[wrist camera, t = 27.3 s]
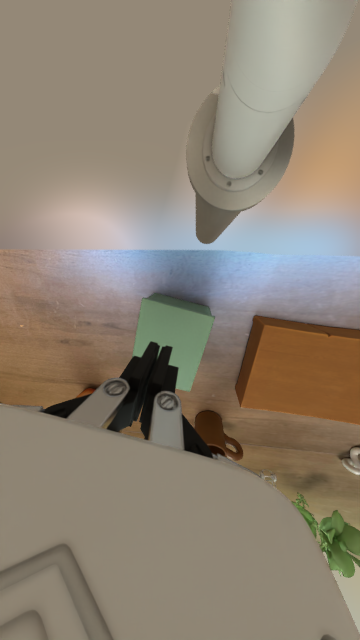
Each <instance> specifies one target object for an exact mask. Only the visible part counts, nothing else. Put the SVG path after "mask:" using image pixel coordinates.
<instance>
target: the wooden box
mask: <svg viewBox="0 0 360 640" xmlns="http://www.w3.org/2000/svg"><path fill="white" fill-rule="evenodd" d="M253 322H254V323H253V326H252V330H251V334H250V338H249V341H248V345H247V349H246V353H245V356H244V360H243V364H242V368H241V372H240V375H239V379H238V383H237V384H236V386H235V390H236V394H237V397H238V400H239V404H240V407H245V408H253V409H261V410H268V411H276V412H283V413H290V414H298V415H305V416H312V417H318V418H324V419H329V420H335V421H341V422H347V423H352V424H358V425H360V330H353V329H344V328H335V327H326V326H320V325H313V324H305V323H299V322H292V321H286V320H280V319H274V318H267V317H261V316H254V318H253Z"/></svg>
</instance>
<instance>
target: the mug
mask: <svg viewBox="0 0 360 640" xmlns="http://www.w3.org/2000/svg"><path fill="white" fill-rule="evenodd" d="M195 430H196V432H197V433H198V434H199V435H200V437H201V438H202V439H203V440H204V442H205V443H206V444H207V445H208V447H209V448H210V450H211V452H212V453H213V454H215V455H217V453H218V454H220V455H222V456H224V457H229V458H230V459H232V460H235V461H238V460H241V459H242V457H243V450H242V447H241V446H240V444H239V443H238V442H237V441H236V440H235V439H233V438H230V437H228V436H227V435H226V434H225V433H224V431H223V425H222V420H221V418H220V416H219V415H218V414H216V413H214V412H212V411H204V412H201V413H199V414H198V415H197V417H196V419H195ZM226 444H228V445H231V446H233V447H234V448H235V450H236V452H237V453H235V452H233V451H232V450H230V449H228V448H227V447H226Z"/></svg>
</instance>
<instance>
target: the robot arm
mask: <svg viewBox="0 0 360 640" xmlns="http://www.w3.org/2000/svg"><path fill="white" fill-rule="evenodd" d="M357 1H358V0H231V6H230V15H229V22H228V29H227V37H226V45H225V53H224V60H223V67H222V75H221V82H220V89H219V96H218V104H217V111H216V113H215V114H214V116H213V117H212V118H211V120H210V122H209V124H208V126H207V129H206V132H205V135H204V140H203V148H202V156H203V164H204V168H205V171H206V173H207V175H208V177H209V179H210V180H211V181H212V182H213V183H214V184H215V185H216V186H217V187H218V188H220V189H222V190H225V191H228V192H240V191H244V190H246V189H249V188H250V187H252V186H254V185H255V184H256V183H257V182H259V181H260V180H261V179H262V177H263V176H264V175H265V174H266V172H267V171H268V170H269V168H270V166H271V164H272V163H273V161H274V158H275V155H276V152H277V148H278V142H279V137H280V136H281V134H282V133H283V131H284V130H285V128H286V127H287V125H288V124H289V122H290V121H291V119H292V118H293V116H294V115H295V113H296V112H297V110H298V109H299V107H300V106H301V104H302V103H303V101H304V100H305V98H306V97H307V96H308V94H309V92H310V91H311V89H312V88H313V86H314V85H315V83H316V82H317V80H318V79H319V77H320V76H321V75H322V73H323V71H324V70H325V68H326V67H327V65H328V64H329V62H330V61H331V59H332V57H333V55H334V54H335V52H336V50H337V49H338V47H339V44H340V42H341V40H342V38H343V36H344V34H345V32H346V30H347V27H348V25H349V23H350V20H351V18H352V15H353V12H354V9H355V7H356V4H357ZM207 160H209V162H206V161H207ZM258 174H260V176H259V175H258ZM227 185H229V187H227ZM159 349H160V346H159V345H158V343H156V342H152V341H150V343H149V344H148V346H147V348H146V350H145V351H144V353H143V355H142V357H138V356H133V358H132V359H131V361H130V362H129V364H128V365H127V367H126V368H125V370H124V371H123V373H122V374H121V376H120V377H119V378H111V379H108V380H106V381H105V382H104V383H103V384H102V385H100V386H99V387H98V388H97V389H96V390H95V391H94V392H93V393H91V394H88V395H85V396H81V397H78V398H75V399H72V400H68V401H65V402H62V403H59V404H56V405H53V406H50V407H48V408H46V409H43V406H24V405H6V404H1V403H0V640H360V634H359V632H358V630H357V627H356V625H355V623H354V621H353V618H352V616H351V614H350V611H349V609H348V607H347V605H346V603H345V600H344V598H343V596H342V593H341V591H340V589H339V587H338V584H337V582H336V580H335V578H334V576H333V573H332V571H331V569H330V567H329V565H328V563H327V561H326V559H325V556H324V555H323V552H322V550H321V548H320V546H319V544H318V543H317V541H316V539H315V537H314V535H313V533H312V531H311V529H310V527H309V526H308V524H307V522H306V521H305V519H304V517H303V516H302V515H301V513H300V512H299V510H298V509H297V508H296V507H295V505H294V504H293V503H292V502H291V501H290V500H289V499H288V498H287V497H286V496H285V495H284V494H282V493H281V492H280V491H279V490H278V489H276V488H275V487H274V486H272V485H271V484H269V483H268V482H266V481H265V480H264V479H262V478H261V477H260V476H259V475H257V474H256V473H254V472H252V471H250V470H249V469H247V468H245V467H243V466H241V465H239V464H237V463H235V462H233V461H231V460H230V459H228V458H226V457H224V456H222V455H220V454H218V453H217V455H215V454H213V453H212V452H211V450H210V448H209V447H208V445H207V444H206V443H205V442H204V440H203V439H202V438H201V437H200V435H199V434H198V433H197V432H196V430H195V429H194V428H193V427H192V425H191V424H190V423H189V422H188V420H187V419H186V418H185V417H184V415H183V414H182V410H181V401H180V399H179V397H178V396H177V395H176V394H175V388H176V382H177V376H178V370H179V367H175V366H172V365H168V364H169V360H170V356H171V352H172V349H173V347H171V346H167V345H166V346H165V347H163V346H162V348H161V351H160V353H159ZM158 353H159V356H158ZM142 406H143V408H142ZM141 408H142V412H141V417H140V421H139V422H141V423H142V424H141V428H140V429H141V431H142V433H143V434H144V436H145V438H144V439H140V438H137V437H133V436H129V435H125V434H122V433H121V432H122V429H123V428H126V427H128V426H130V427H131V425H132V423H133V421H137V419H138V416H139V414H140V411H141Z"/></svg>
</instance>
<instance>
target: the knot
mask: <svg viewBox="0 0 360 640" xmlns="http://www.w3.org/2000/svg"><path fill="white" fill-rule="evenodd" d="M358 454H360V448H359V447H354V448H352V449H351V451H350V456H351V459H349V458H345V459H343V460H342V463H343V465H344V467H345V468H347V469H348V470H349V471H351V472H353V473H355V474H357V475H360V462H359V460H358ZM352 465H353V466H355V467H353V466H352Z"/></svg>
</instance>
